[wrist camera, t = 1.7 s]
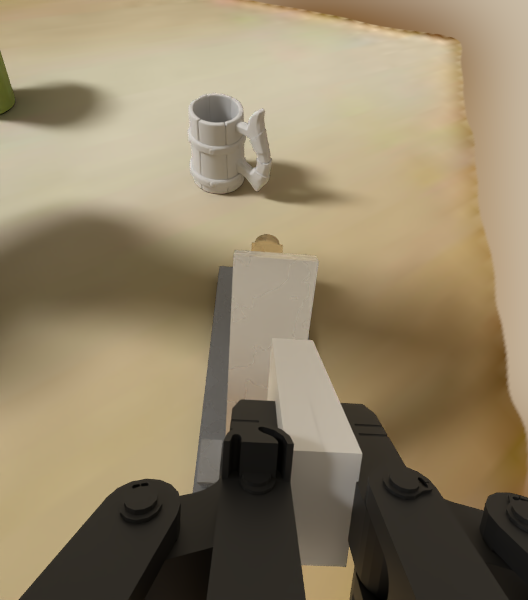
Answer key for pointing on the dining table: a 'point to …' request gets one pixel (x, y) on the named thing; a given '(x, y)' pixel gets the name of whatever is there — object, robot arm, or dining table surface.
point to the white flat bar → (265, 316)
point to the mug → (226, 144)
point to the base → (220, 376)
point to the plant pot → (5, 89)
